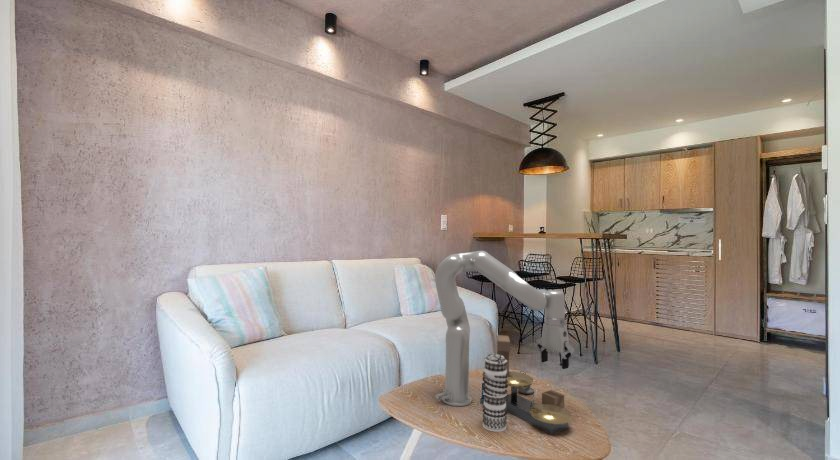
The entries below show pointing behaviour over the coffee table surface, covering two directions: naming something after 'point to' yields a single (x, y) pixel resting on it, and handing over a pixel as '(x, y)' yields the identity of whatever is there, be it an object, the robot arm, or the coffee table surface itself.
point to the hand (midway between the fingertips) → (554, 364)
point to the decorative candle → (495, 393)
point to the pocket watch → (525, 388)
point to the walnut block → (553, 398)
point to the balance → (534, 407)
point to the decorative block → (504, 348)
